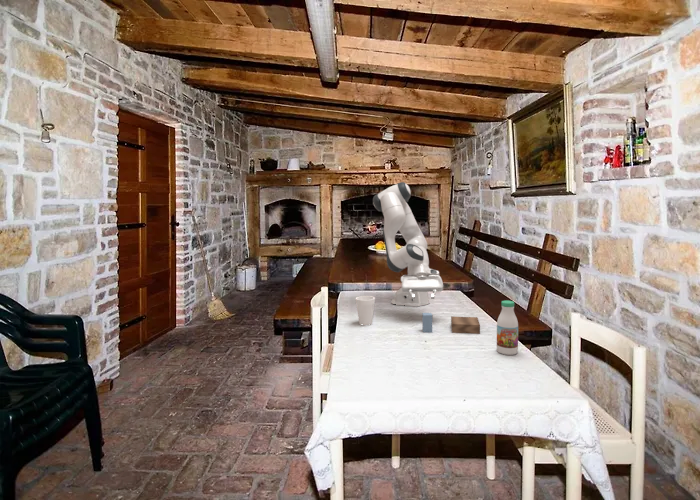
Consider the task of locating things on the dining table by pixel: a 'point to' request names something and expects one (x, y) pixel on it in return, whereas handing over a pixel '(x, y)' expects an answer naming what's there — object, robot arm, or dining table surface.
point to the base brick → (465, 325)
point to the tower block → (427, 322)
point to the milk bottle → (507, 329)
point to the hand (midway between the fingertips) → (423, 298)
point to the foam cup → (365, 309)
